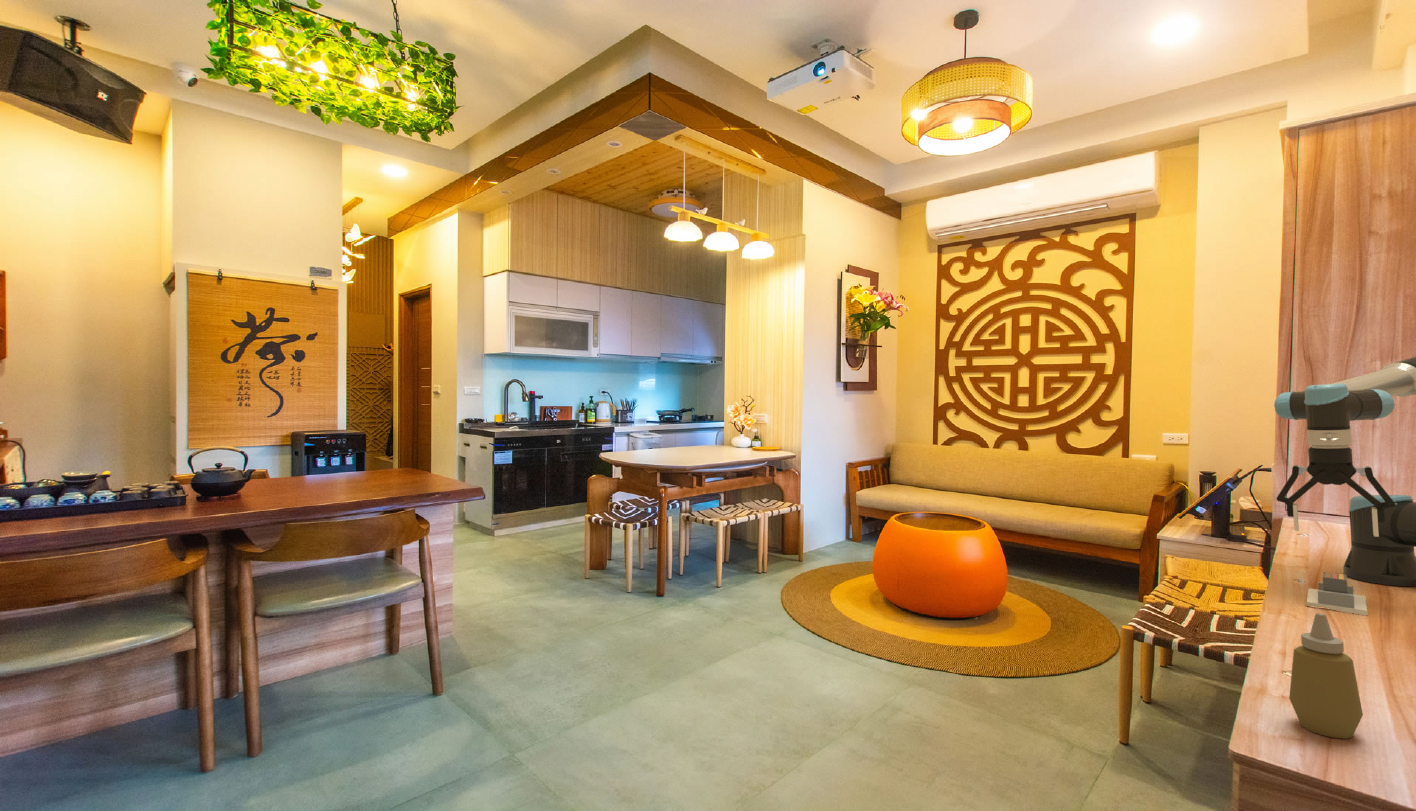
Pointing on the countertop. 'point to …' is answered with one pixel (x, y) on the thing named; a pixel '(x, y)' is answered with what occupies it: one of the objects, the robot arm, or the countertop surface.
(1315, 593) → the board
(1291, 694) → the squeeze bottle
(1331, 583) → the plug
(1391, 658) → the countertop surface
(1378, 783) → the countertop surface
